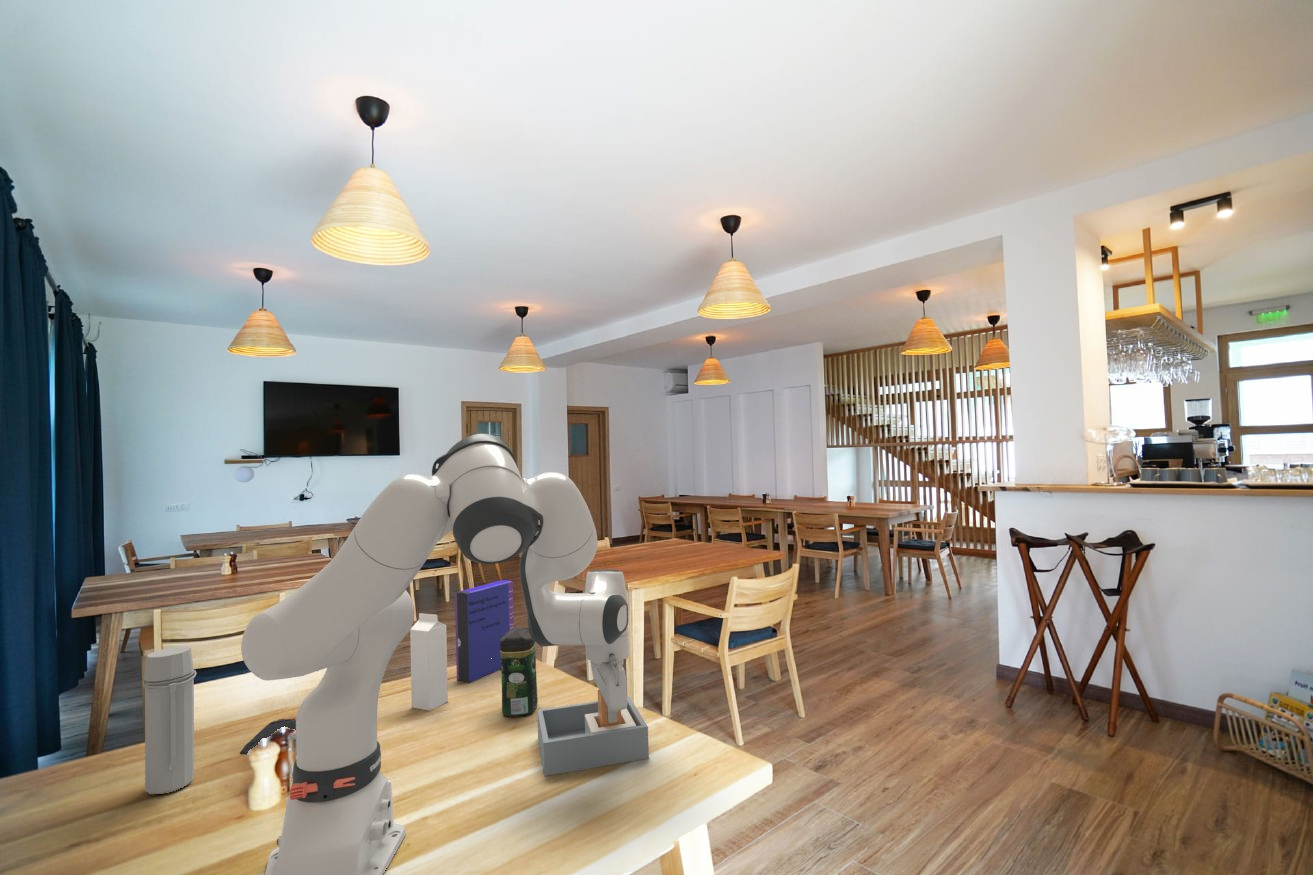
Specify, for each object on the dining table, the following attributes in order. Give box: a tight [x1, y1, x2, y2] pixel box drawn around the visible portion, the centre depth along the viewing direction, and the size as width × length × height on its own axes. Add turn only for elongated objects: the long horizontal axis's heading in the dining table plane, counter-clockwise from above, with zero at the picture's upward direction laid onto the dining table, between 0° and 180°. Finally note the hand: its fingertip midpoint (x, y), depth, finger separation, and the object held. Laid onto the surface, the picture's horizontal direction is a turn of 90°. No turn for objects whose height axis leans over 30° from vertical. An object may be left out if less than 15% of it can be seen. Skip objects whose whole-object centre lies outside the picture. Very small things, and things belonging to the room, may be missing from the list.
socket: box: [585, 708, 636, 734], centre depth 123 cm, size 9×9×4 cm
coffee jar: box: [500, 626, 538, 718], centre depth 143 cm, size 10×8×19 cm
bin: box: [536, 696, 650, 777], centre depth 122 cm, size 16×20×6 cm
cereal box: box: [454, 579, 515, 684], centre depth 170 cm, size 17×5×24 cm, turn 150°
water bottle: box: [141, 646, 197, 795], centre depth 112 cm, size 9×8×25 cm
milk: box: [409, 612, 449, 712], centre depth 148 cm, size 6×6×22 cm
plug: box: [597, 689, 621, 728], centre depth 123 cm, size 4×4×10 cm
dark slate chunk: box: [239, 718, 296, 756], centre depth 131 cm, size 15×22×5 cm
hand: (609, 715), depth 123 cm, fingers closed on plug, 4 cm apart
